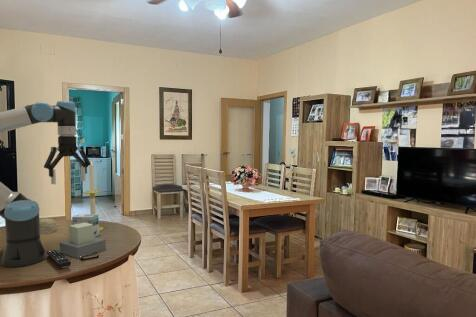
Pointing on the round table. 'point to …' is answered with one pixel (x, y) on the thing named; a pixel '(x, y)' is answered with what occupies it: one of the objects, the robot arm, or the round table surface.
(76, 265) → the round table surface
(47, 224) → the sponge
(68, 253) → the base block
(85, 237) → the green cube
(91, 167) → the candle
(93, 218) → the light bulb box
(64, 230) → the round table surface
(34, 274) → the round table surface
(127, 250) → the round table surface
